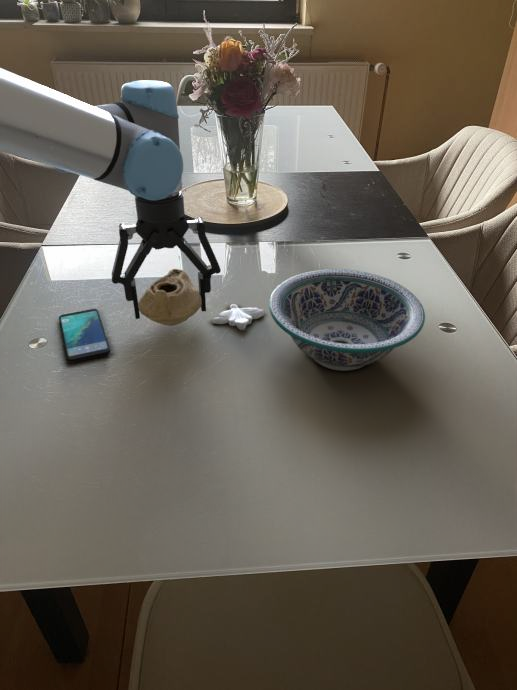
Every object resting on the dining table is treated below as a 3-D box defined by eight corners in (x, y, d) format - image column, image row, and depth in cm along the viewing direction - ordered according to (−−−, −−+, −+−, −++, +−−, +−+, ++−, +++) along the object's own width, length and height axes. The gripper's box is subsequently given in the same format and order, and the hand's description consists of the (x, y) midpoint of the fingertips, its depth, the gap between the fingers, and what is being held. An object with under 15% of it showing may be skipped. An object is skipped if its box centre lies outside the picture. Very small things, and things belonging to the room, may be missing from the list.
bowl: (359, 423, 78) (368, 372, 73) (237, 352, 92) (237, 305, 86) (440, 350, 93) (453, 303, 88) (325, 299, 107) (330, 255, 101)
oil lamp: (202, 291, 103) (199, 253, 99) (203, 335, 91) (200, 294, 86) (144, 293, 102) (139, 255, 98) (137, 338, 90) (131, 297, 85)
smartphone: (67, 360, 88) (58, 314, 99) (68, 364, 88) (58, 318, 100) (111, 351, 90) (97, 307, 101) (111, 355, 91) (97, 310, 102)
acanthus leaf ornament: (264, 315, 102) (264, 307, 101) (248, 333, 97) (248, 325, 96) (229, 305, 104) (229, 297, 103) (212, 323, 99) (211, 314, 98)
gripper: (79, 205, 78) (103, 330, 91) (237, 194, 83) (238, 314, 96) (81, 188, 84) (103, 307, 97) (228, 178, 89) (230, 293, 102)
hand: (170, 311), depth 96 cm, fingers closed on oil lamp, 11 cm apart
